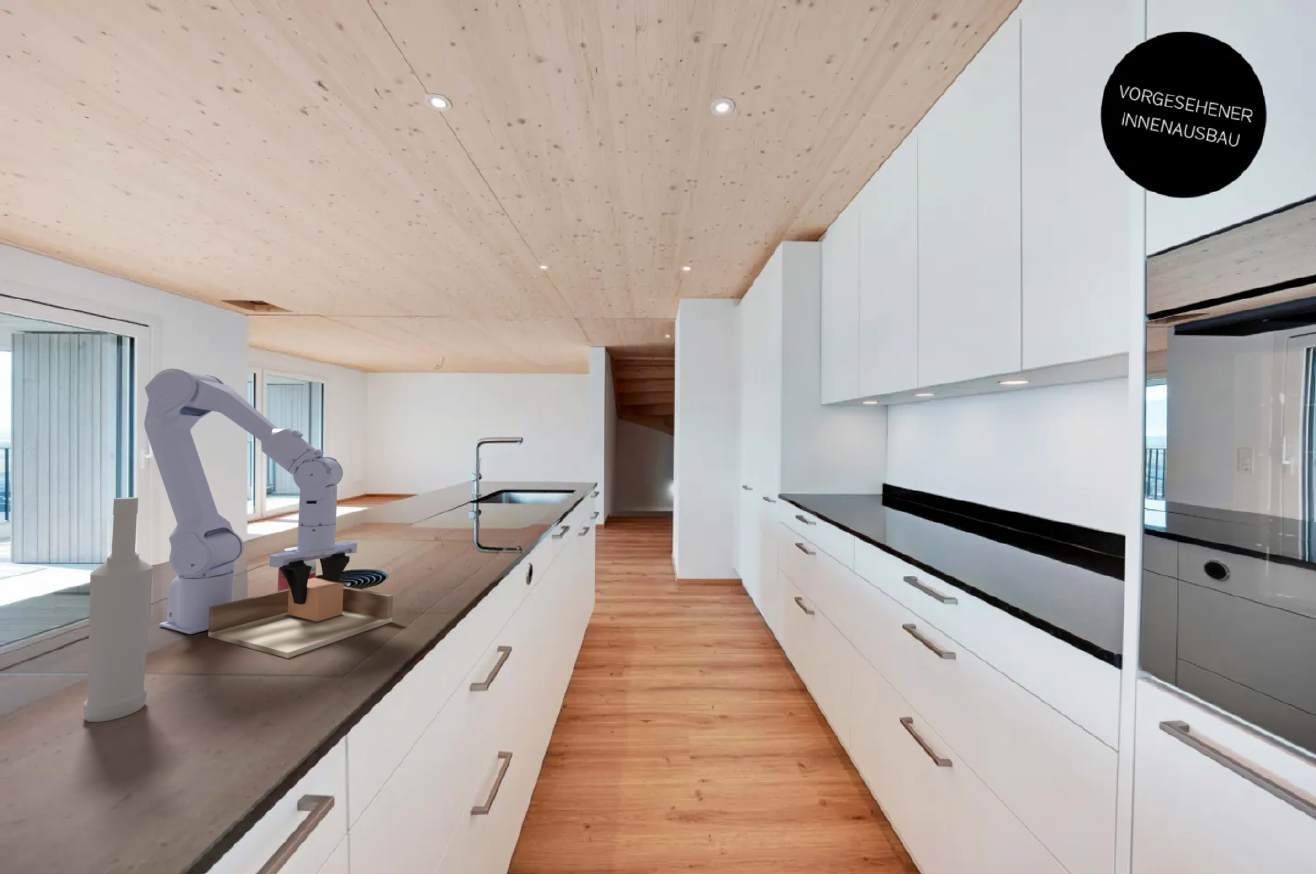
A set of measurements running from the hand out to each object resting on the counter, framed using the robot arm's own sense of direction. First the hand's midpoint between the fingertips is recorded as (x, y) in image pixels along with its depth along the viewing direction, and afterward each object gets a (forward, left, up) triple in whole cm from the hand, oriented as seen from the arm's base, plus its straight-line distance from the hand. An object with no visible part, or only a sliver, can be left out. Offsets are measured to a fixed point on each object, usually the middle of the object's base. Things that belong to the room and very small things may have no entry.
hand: (314, 599), depth 93 cm
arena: (+3, -3, -4) cm, 6 cm away
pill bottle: (-12, +5, -4) cm, 13 cm away
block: (0, 0, -3) cm, 3 cm away
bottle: (+11, -30, -4) cm, 33 cm away
